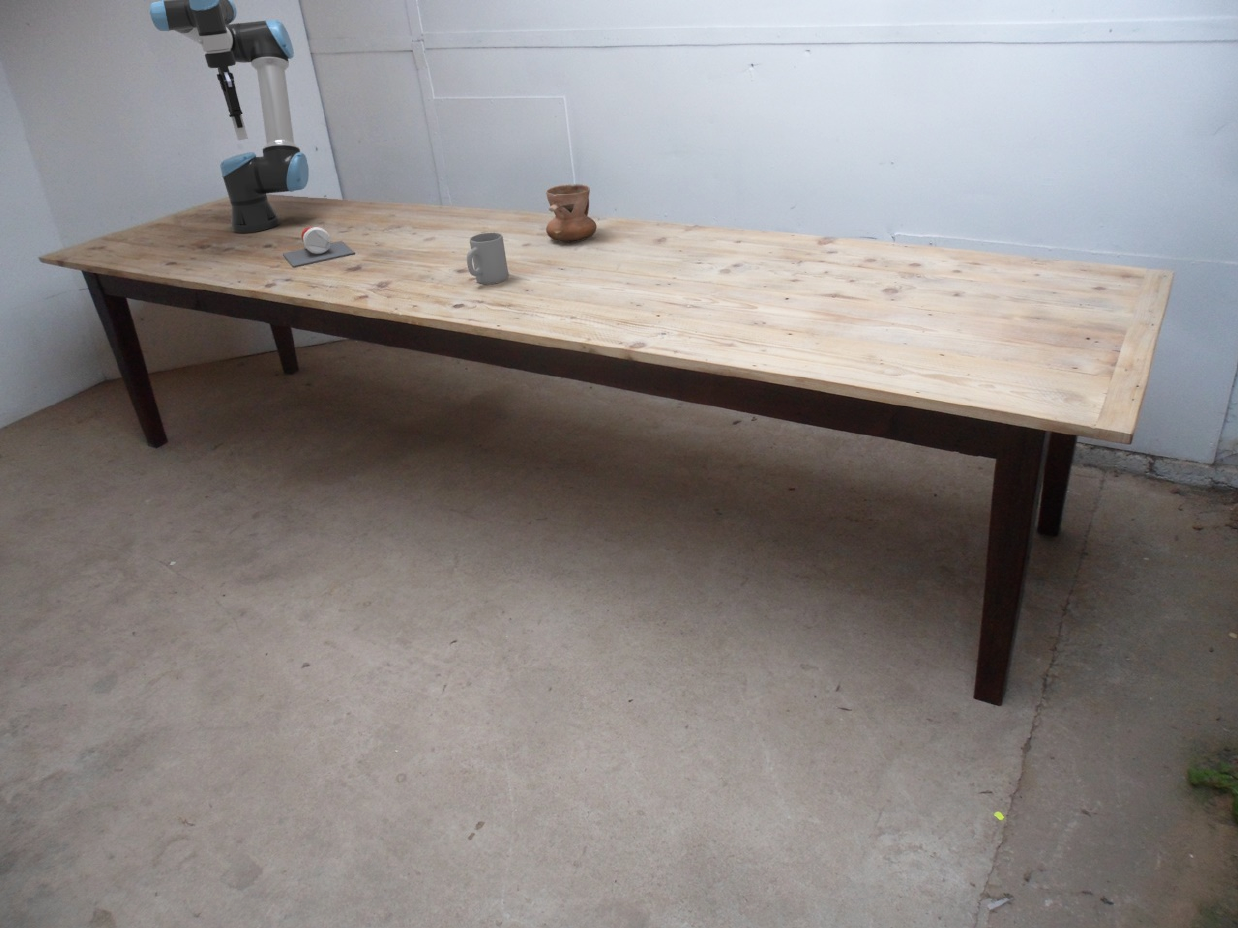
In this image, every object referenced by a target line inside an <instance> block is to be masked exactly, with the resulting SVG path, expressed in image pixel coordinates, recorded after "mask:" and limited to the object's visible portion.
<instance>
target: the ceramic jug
mask: <svg viewBox="0 0 1238 928" xmlns="http://www.w3.org/2000/svg"><path fill="white" fill-rule="evenodd" d="M590 193H591V192H590V187H589V186H588V185H587V184H586V185H585V184H580V183H567V184H560V185H556V186H552V187H549V188H547V189H546V191H545V194H546V198H547V201H548V204H549V206H550V207H549V208H548V210H549V211H550V212H551V213H553V214H554V215H555V216H554V217H553V218H552V219H551V220H550V221H549V222H548V223H547V225H546V228H545V231H546V234H547V236H548V237H549V238H550V239H552V241H553V240H554V241H556V242H560V243H561V242H562V243H575V242H580V241H583V240H586V239H589V238H590V237H592V236H593V235H594V234H595V233H596V230H597V223H596V221H595V220H594V219H593V218H591V217H590V216H589V211H590V210H589V209H590Z"/></svg>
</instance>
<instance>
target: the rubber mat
mask: <svg viewBox="0 0 1238 928" xmlns="http://www.w3.org/2000/svg"><path fill="white" fill-rule="evenodd" d="M355 254H356V252H355V251H354V250H353V249H352V248H350V247H349V246H348V245H347V244H346V242H344V241H343V240H341V241H340V240H339V241H335V242H331V244H330V247H329V249H328V250H327V251H326V252H324V253H322V254H314V253H312V252H310V251H309V250H307V248H306V247H305V248H302V249H297V250H293V251H292V250H291V251H288V252H284V253H282V255H283V257H284V258H285V259H286V260H287V262H288V263H289V264H290V266H291V267H292V268H297V267H298V266H299V267H303V266H308V265H312V264H316V263H321V262H325V261H331V260H335V259H340V258H343V257H348V256H353V255H355Z"/></svg>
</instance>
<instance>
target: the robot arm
mask: <svg viewBox="0 0 1238 928" xmlns="http://www.w3.org/2000/svg"><path fill="white" fill-rule="evenodd" d="M237 13H238V12H237V7H236V5H235V3H234V1H233V0H159V1H154V2H152V3H150V5H149V15H150V19H151V21H152V23H153V25H154V27H155V28H156V29H157V30H158V31H160V32H170V31H175V32H177V33H179V34H181V35H183V36H185V37H187V38H188V39H190V40H192V41H193V42H196V43H197V44H200V45H201V47H202V50H203V51H204V52H206V53H205V55H204V57H205V61H206V64H207V68H210V69H217V71H218V73H217V74H216V77H217V80H218V81H219V84H220V87H221V90H222V93H223V96H224V99H225V103H226V106H227V110H228V113H229V114H228V116H229V118H231V121H232V124H233V125H232V126H233V129H234V132H235V135H236V138H237V140H238V141H242V140H243V141H244V140H247V139H249V138H248V137H249V136H248V134H247V130H246V126H245V123H244V119H243V116H242V114H244V113H243V110H242V109H241V105H240V102H239V101H240V100H239V96H238V93H237V89H236V88H237V87H236V83H235V77H234V74H233V72H231V71H230V69H229V67H232V66H235V65H236V64H237V63H250V64H251V66H252V67H253V68H254V69H255V70H256V73H257V79H258V87H259V95H260V102H261V110H262V118H263V126H264V133H265V140H266V141H265V142H266V145H265V146H264V147H263V148H262V156H257V155H256V153H255V152H254V151H253V152H252V151H251V152H250V151H249V152H245V153H240V154H236V155H234V156H231V157H228V158H225V159H224V160H223V161H221V163H220V171H221V177H222V179H223V182H224V185H225V188H226V192H227V195H228V198H229V202H230V205H231V228H232V231H233V232H234V233H237V234H238V233H239V234H249V233H256V232H263V231H267V230H269V229H272V228H276V227H277V226H279V225H280V218H279V216H278V214H277V213H276V211H275V209H274V208H273V206H272V204H271V203H270V202H269V199H268V197H267V196H268V195H267V194H277V193H285V192H291V193H292V192H295V191H302V190H303V189H305V188H306V187H307V185H308V182H309V177H310V174H309V171H310V169H309V163H308V159H307V156H306V154H305V153H303V152H301V149H300V147H299V146H297V145H296V144H295V139H294V132H293V131H294V130H293V123H292V116H291V110H290V109H291V107H290V100H289V91H288V85H287V79H286V78H287V77H286V70H287V69H288V68H289V67H290V63H289V61H290V60H291V59H293V58H294V56H295V55H294V47H293V44H292V43H293V42H292V39H291V37H290V35H289V32H288V31H287V28H286V27H285V25H284V23H282V22H281V21H280V20H276V19H270V20H269V19H265V20H257V21H250V22H239V23H238V22H237V23H233V22H234V20H236V17H237Z"/></svg>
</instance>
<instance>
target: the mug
mask: <svg viewBox="0 0 1238 928" xmlns="http://www.w3.org/2000/svg"><path fill="white" fill-rule="evenodd" d="M469 244H470V245H469V246H470V250H469V251H468V253H467V255H466V264H467V265H466V266H467V269H468V271H469V274H470V275H471V276H473V277H475V281H476V282H477V283H478V284H482V285H495V284H499V283H503V282H505V281H506V280H508V279H509V269H508V262H507V257H506V251H505V244H504V237H503V235H502V234H501V233H499V232H483V233H479V234H475V235H474V236H472V237H470V238H469Z"/></svg>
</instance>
